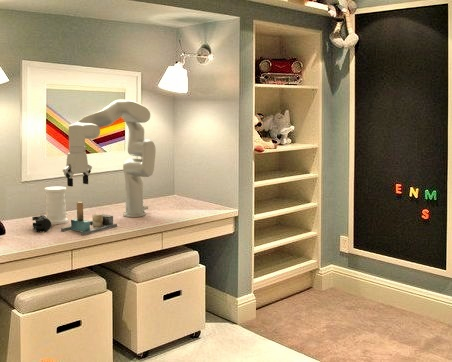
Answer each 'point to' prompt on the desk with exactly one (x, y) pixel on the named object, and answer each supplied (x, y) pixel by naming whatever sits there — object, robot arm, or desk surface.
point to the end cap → (41, 223)
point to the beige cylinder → (97, 220)
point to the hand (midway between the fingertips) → (78, 185)
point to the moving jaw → (80, 220)
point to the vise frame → (106, 223)
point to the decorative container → (56, 204)
